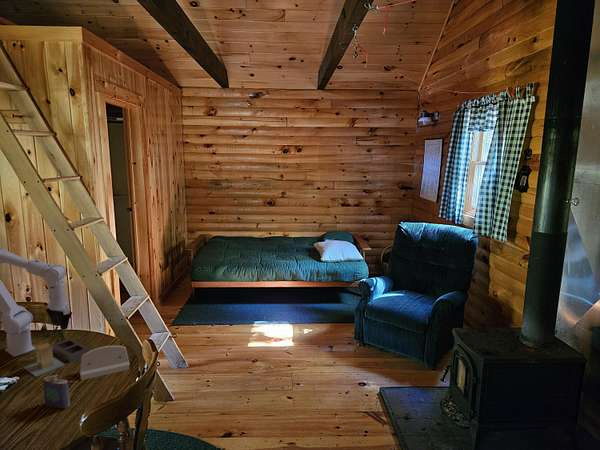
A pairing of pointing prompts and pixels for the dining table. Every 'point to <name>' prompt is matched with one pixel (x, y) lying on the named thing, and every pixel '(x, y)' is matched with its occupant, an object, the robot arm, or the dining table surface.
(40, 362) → the tan rectangular block
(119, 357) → the grey rounded block
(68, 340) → the double cubby frame
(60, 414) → the dining table surface
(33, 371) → the mat
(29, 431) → the dining table surface
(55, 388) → the flask
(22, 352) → the robot arm
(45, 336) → the dining table surface
